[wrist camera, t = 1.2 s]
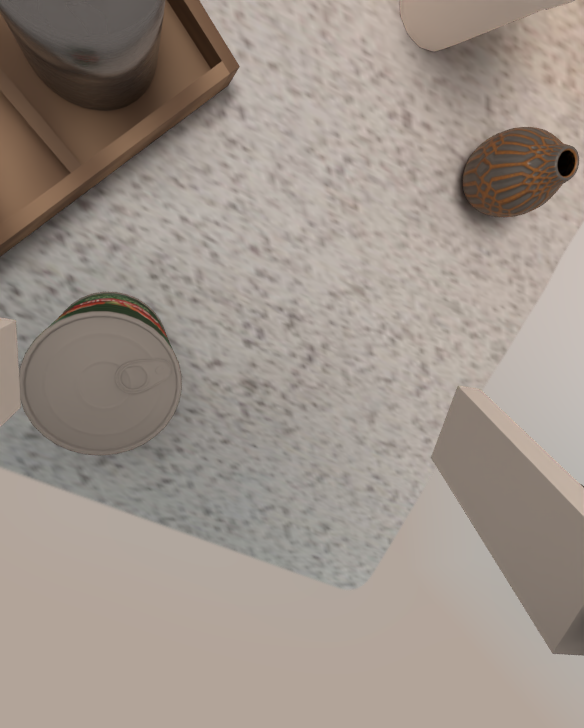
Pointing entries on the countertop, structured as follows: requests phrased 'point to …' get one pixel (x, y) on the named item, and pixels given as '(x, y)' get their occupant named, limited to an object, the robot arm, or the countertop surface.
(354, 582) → the countertop surface
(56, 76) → the seated cylinder
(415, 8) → the foam cup
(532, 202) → the vase
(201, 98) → the wooden divided tray
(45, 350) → the canned tomato
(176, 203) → the countertop surface
